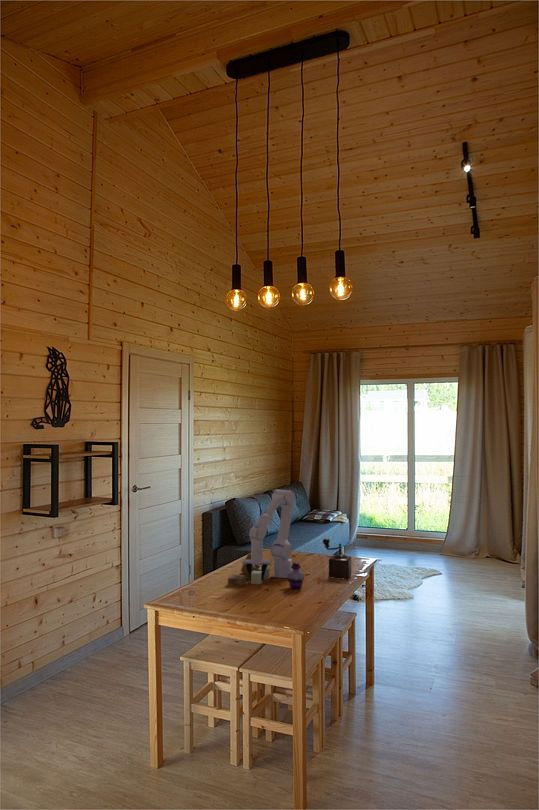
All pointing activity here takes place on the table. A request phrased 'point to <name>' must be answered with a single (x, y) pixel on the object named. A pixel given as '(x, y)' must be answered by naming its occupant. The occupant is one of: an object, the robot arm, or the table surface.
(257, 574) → the sage cube
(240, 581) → the walnut base
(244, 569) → the wooden block set
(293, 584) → the potion bottle
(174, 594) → the table surface
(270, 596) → the table surface
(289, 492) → the robot arm
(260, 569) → the slate cube
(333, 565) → the manual coffee grinder
